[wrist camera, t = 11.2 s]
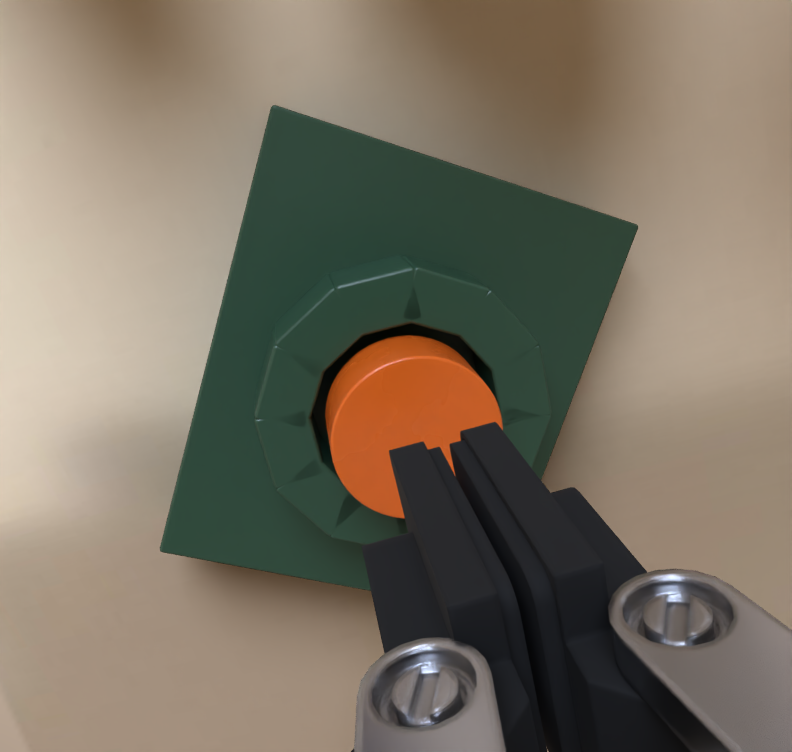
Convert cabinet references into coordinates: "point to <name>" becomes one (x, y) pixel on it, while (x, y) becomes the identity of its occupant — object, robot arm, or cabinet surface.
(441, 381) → the button
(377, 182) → the green push button box
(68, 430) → the cabinet surface
